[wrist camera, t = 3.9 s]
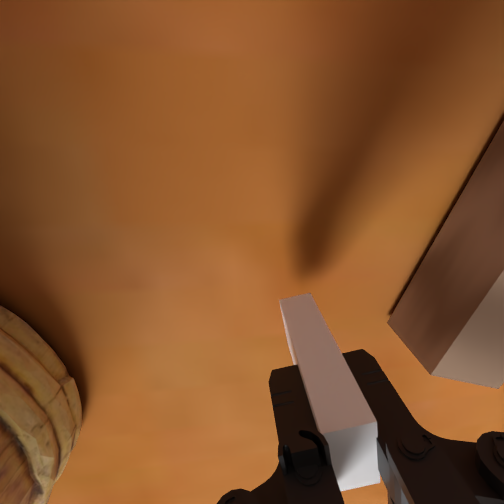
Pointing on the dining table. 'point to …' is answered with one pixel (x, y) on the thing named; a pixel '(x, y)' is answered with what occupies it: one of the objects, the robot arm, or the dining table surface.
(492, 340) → the folding leg
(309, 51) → the dining table surface
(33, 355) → the tankard
